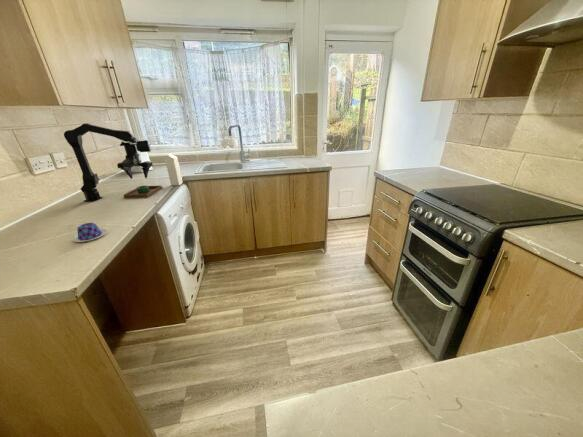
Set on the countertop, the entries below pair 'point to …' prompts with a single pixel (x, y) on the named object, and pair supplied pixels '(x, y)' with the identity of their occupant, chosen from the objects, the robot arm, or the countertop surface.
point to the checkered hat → (88, 232)
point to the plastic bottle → (142, 157)
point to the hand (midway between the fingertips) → (138, 178)
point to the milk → (173, 170)
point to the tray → (135, 193)
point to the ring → (143, 189)
